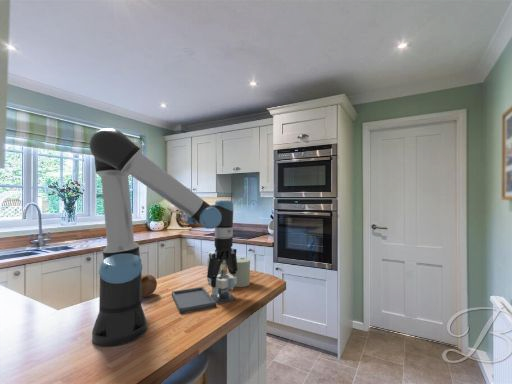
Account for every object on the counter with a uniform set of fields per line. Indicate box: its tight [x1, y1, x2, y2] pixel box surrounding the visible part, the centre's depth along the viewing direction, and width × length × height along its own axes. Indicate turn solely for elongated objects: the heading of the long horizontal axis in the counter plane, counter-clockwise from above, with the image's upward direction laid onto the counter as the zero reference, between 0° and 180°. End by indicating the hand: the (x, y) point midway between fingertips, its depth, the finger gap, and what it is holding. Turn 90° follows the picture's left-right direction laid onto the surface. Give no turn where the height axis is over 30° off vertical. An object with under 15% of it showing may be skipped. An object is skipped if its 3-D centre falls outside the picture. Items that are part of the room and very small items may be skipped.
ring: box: [208, 273, 237, 289], centre depth 110 cm, size 8×10×3 cm
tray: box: [171, 286, 217, 314], centre depth 108 cm, size 14×19×2 cm
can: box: [234, 257, 251, 288], centre depth 129 cm, size 9×9×12 cm
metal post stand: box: [210, 264, 236, 305], centre depth 110 cm, size 8×8×14 cm
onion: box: [141, 274, 158, 298], centre depth 112 cm, size 10×9×10 cm
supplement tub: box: [206, 250, 228, 284], centre depth 130 cm, size 10×10×15 cm
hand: (222, 291), depth 110 cm, fingers closed on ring, 8 cm apart
